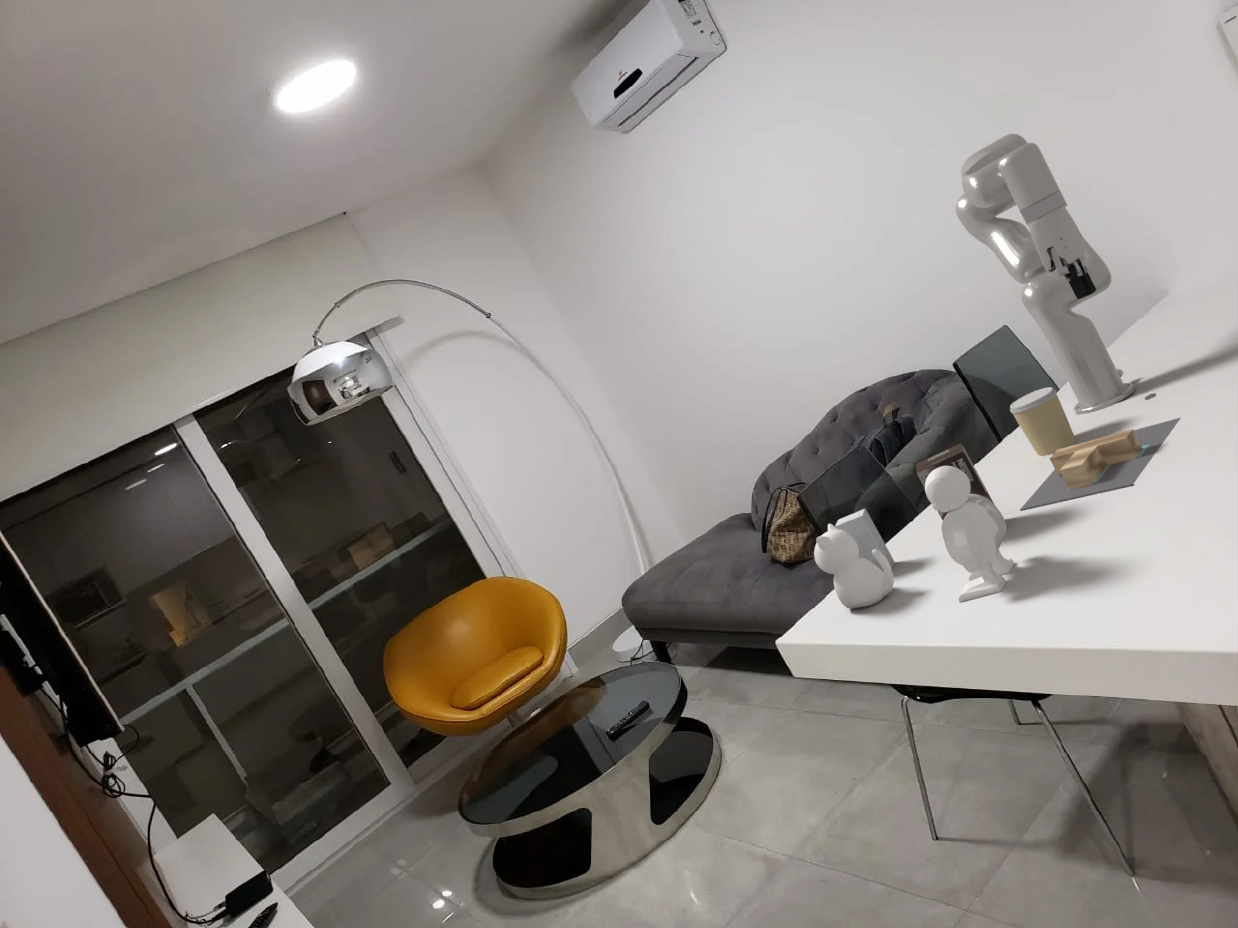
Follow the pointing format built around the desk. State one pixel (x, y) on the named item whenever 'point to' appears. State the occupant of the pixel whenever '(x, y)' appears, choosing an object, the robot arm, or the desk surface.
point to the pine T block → (1094, 457)
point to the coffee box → (958, 460)
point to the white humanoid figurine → (970, 531)
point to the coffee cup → (1043, 421)
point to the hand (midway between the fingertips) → (1087, 295)
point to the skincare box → (865, 536)
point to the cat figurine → (852, 569)
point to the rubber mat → (1112, 479)
